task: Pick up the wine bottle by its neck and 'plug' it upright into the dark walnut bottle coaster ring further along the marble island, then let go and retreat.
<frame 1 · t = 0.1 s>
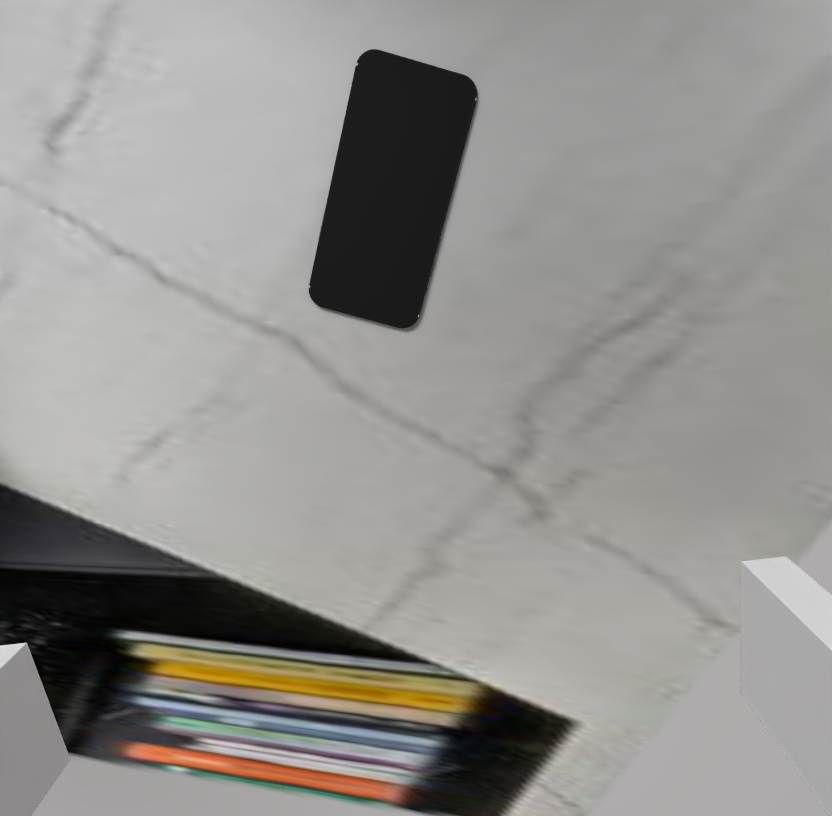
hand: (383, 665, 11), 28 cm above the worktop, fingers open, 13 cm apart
smartphone: (390, 198, 35), on the worktop
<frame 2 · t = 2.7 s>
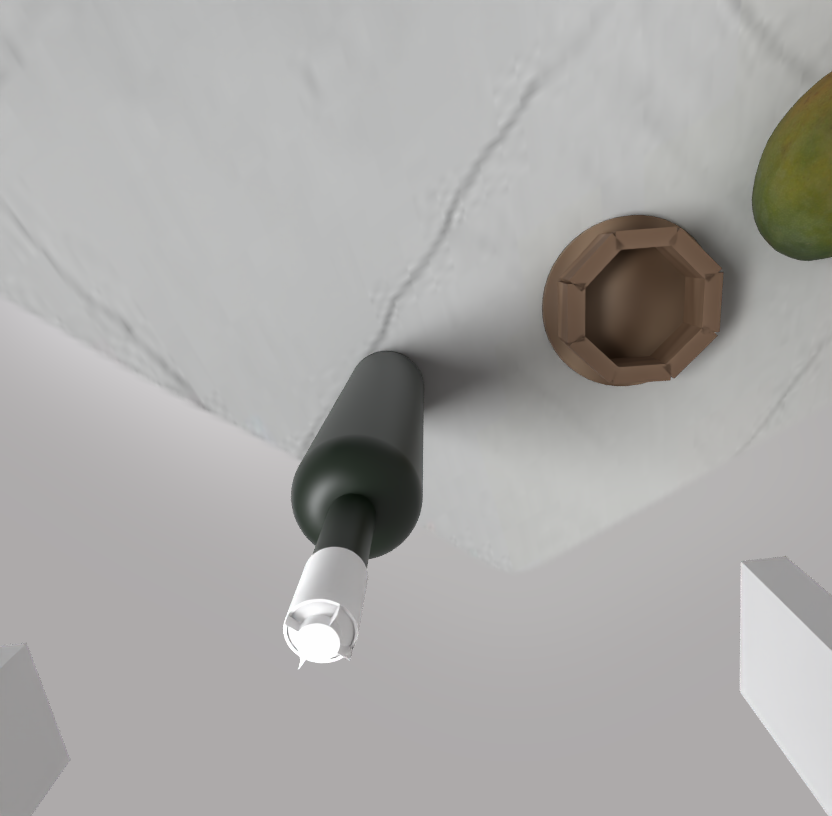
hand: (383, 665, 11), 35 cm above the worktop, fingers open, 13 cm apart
wine bottle: (387, 386, 45), on the worktop
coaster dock: (625, 302, 43), on the worktop
fruit: (812, 174, 40), on the worktop
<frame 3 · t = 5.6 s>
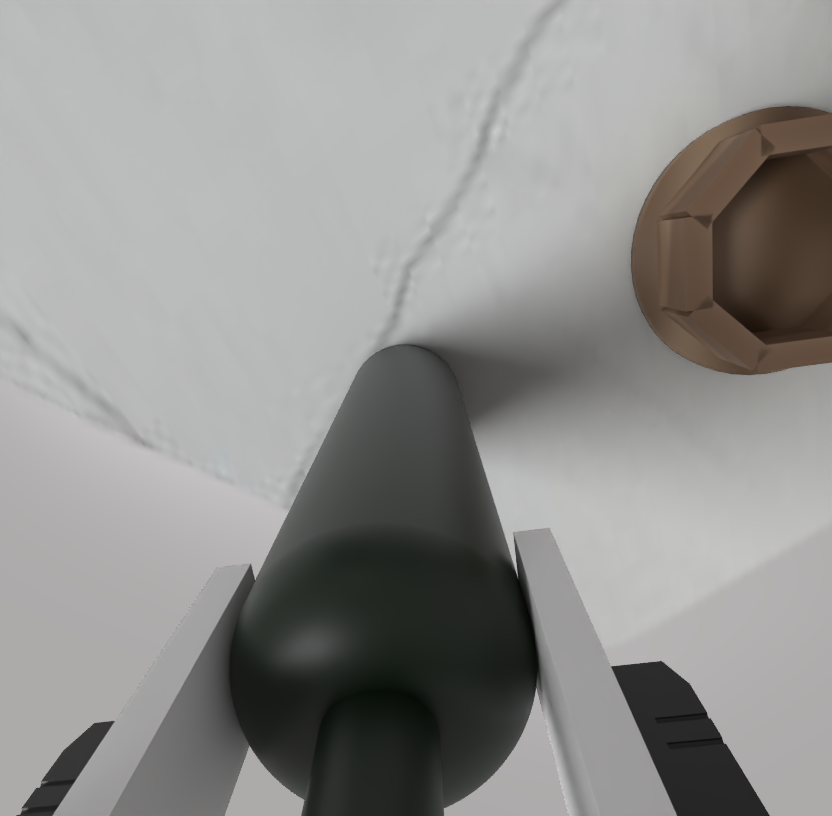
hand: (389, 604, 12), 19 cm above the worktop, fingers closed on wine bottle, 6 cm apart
wine bottle: (405, 397, 31), on the worktop, touching gripper
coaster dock: (757, 248, 28), on the worktop
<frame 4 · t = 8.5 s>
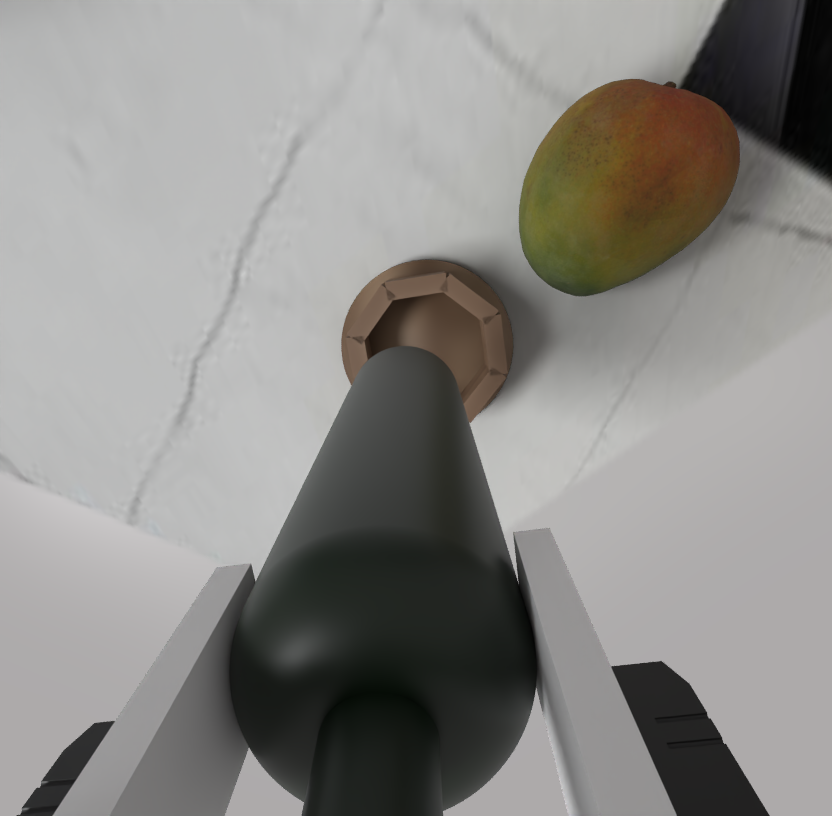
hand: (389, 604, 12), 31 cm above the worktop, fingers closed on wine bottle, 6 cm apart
wine bottle: (405, 398, 31), point 12 cm above the worktop, touching gripper
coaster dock: (427, 346, 42), on the worktop
fruit: (595, 204, 39), on the worktop
when the fingers open (21 cm above the worktop, at t = 11.2 s): wine bottle drops 1 cm, resting on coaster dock.
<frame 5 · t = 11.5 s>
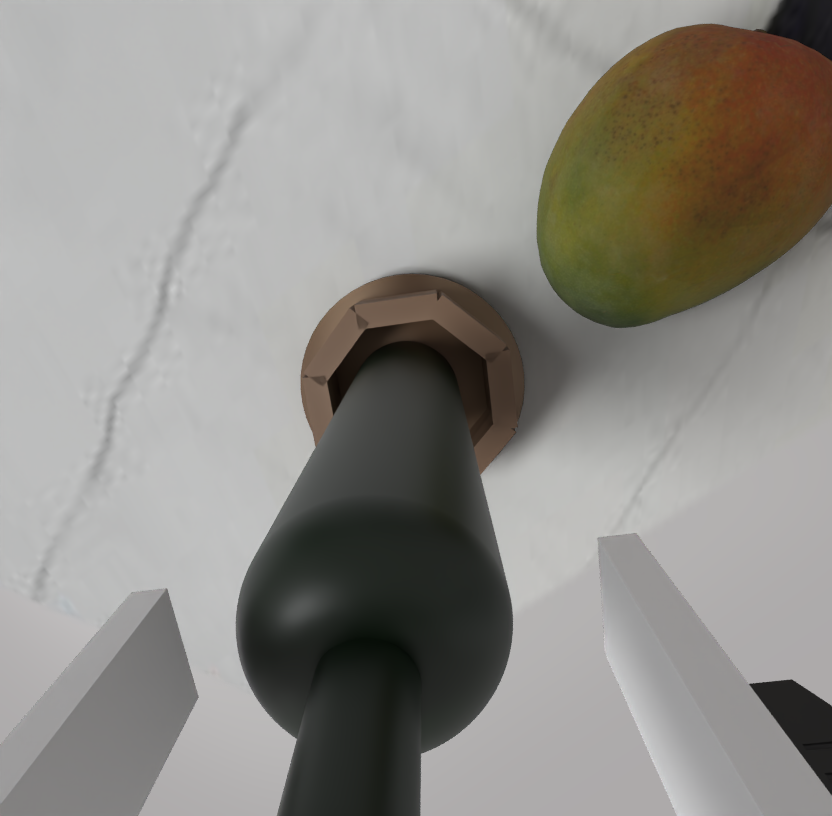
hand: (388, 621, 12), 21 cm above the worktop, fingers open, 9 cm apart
wine bottle: (406, 391, 32), point 1 cm above the worktop, touching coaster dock
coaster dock: (412, 385, 32), on the worktop
fruit: (636, 204, 30), on the worktop
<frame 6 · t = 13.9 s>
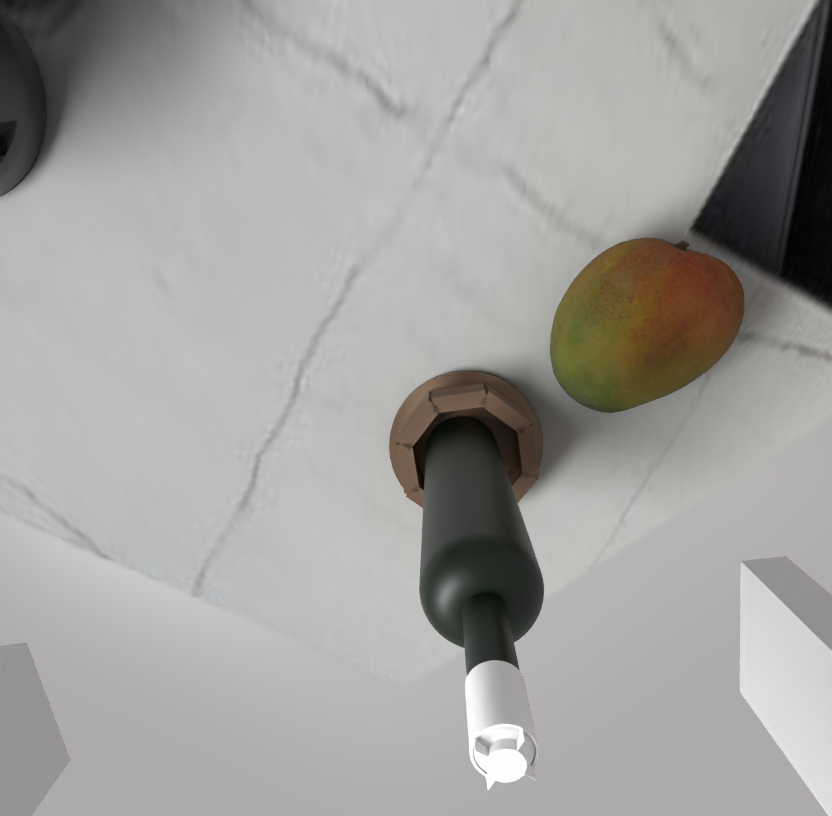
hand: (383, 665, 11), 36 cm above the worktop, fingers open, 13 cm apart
wine bottle: (461, 449, 47), point 1 cm above the worktop, touching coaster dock
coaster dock: (465, 444, 47), on the worktop
fruit: (617, 324, 44), on the worktop
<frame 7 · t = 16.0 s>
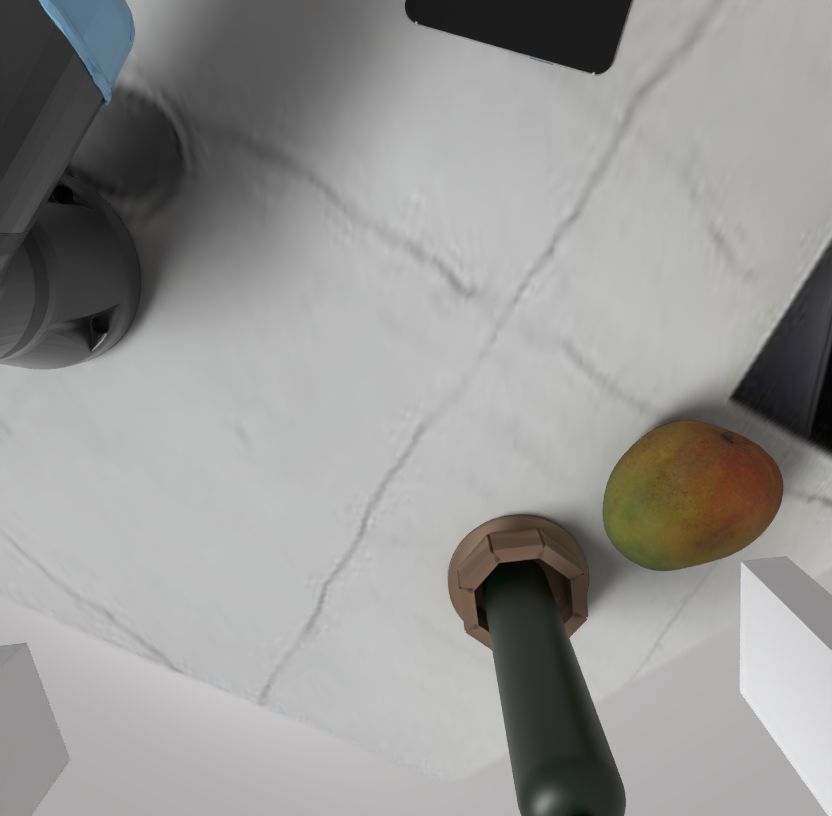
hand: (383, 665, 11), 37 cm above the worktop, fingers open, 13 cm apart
wine bottle: (514, 583, 51), point 1 cm above the worktop, touching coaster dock
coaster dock: (516, 577, 51), on the worktop
fruit: (659, 476, 49), on the worktop
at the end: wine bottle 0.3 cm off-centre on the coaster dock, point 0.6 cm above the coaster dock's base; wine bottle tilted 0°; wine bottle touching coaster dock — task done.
